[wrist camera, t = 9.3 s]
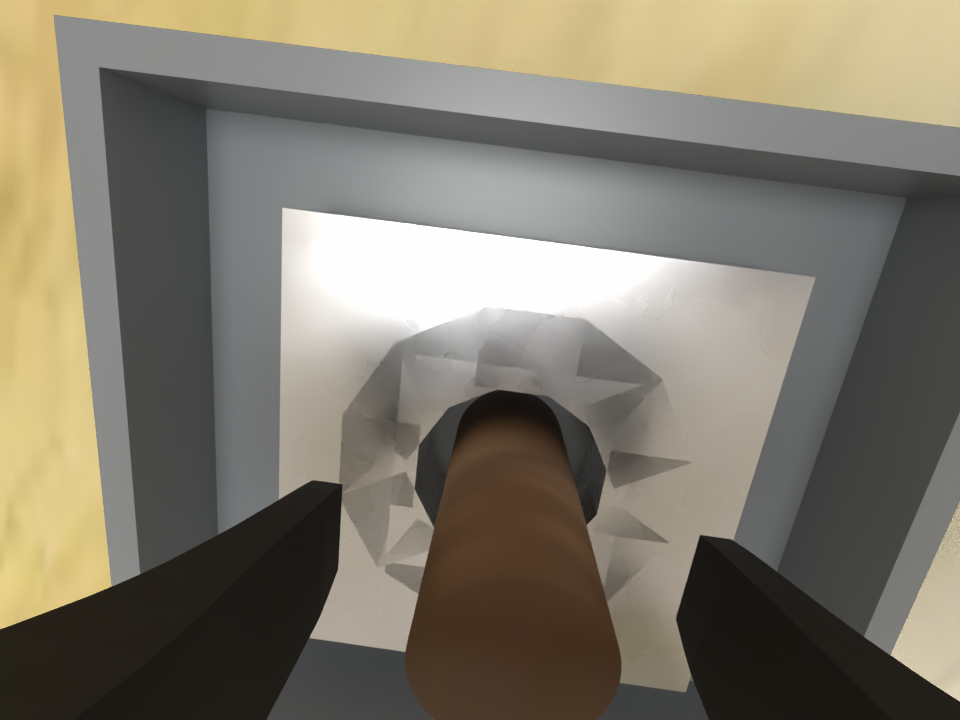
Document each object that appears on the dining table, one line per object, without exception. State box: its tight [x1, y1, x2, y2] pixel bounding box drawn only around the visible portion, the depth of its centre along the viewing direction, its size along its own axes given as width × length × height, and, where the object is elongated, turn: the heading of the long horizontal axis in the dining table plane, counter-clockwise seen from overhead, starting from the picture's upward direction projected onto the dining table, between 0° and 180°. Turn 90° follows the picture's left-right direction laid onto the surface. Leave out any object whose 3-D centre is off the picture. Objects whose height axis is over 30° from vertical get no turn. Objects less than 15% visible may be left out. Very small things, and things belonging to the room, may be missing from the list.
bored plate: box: [279, 208, 816, 692], centre depth 14 cm, size 12×12×2 cm
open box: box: [54, 15, 960, 720], centre depth 14 cm, size 20×18×4 cm
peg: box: [405, 390, 621, 720], centre depth 11 cm, size 3×3×8 cm
